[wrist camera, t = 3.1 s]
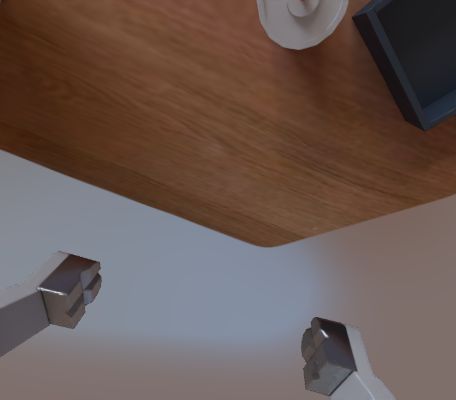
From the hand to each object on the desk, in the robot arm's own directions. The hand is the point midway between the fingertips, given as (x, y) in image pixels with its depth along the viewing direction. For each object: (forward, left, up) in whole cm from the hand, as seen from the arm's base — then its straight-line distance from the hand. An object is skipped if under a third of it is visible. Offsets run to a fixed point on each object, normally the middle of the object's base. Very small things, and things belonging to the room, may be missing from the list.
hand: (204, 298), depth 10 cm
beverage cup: (+10, +6, -25) cm, 28 cm away
